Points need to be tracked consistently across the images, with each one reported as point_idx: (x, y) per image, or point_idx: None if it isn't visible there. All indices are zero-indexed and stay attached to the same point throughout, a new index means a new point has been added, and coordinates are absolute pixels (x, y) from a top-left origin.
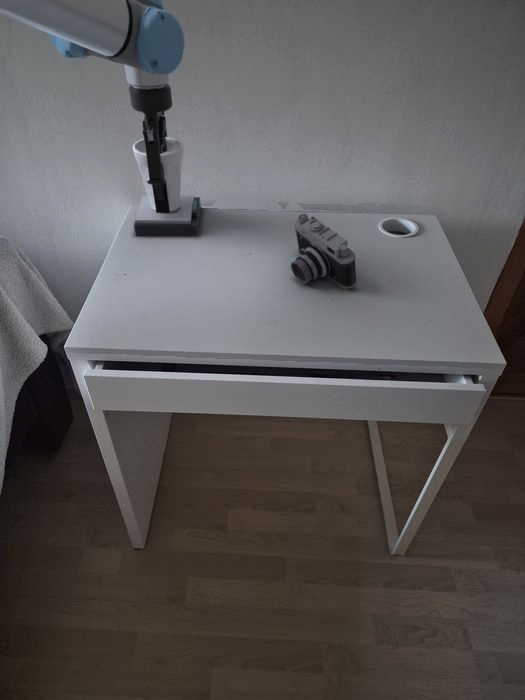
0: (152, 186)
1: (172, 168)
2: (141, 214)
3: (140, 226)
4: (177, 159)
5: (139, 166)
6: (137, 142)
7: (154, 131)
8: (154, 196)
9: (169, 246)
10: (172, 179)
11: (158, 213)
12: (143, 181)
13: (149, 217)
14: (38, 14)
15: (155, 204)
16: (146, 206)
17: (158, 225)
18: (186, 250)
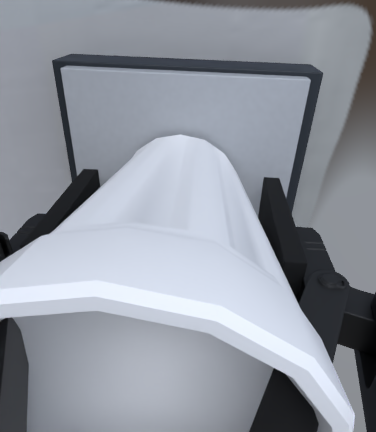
0: (31, 232)
1: (70, 377)
2: (112, 93)
3: (58, 87)
4: None
5: (62, 222)
6: (199, 329)
7: None
8: (55, 206)
9: (29, 174)
10: (93, 321)
11: (126, 162)
12: (116, 175)
13: (91, 130)
14: None
15: (70, 186)
16: (186, 108)
17: (68, 158)
18: (20, 218)
